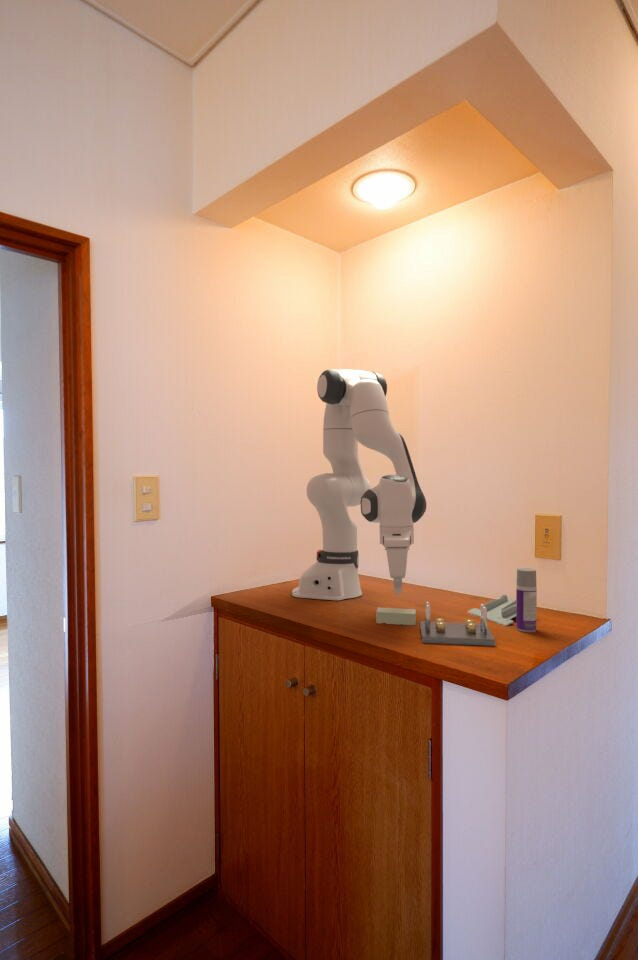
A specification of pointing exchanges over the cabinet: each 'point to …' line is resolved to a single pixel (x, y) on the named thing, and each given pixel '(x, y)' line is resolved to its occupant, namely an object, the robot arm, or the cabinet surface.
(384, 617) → the board
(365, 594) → the cabinet surface
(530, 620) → the container
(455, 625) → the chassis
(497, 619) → the metal bracket
